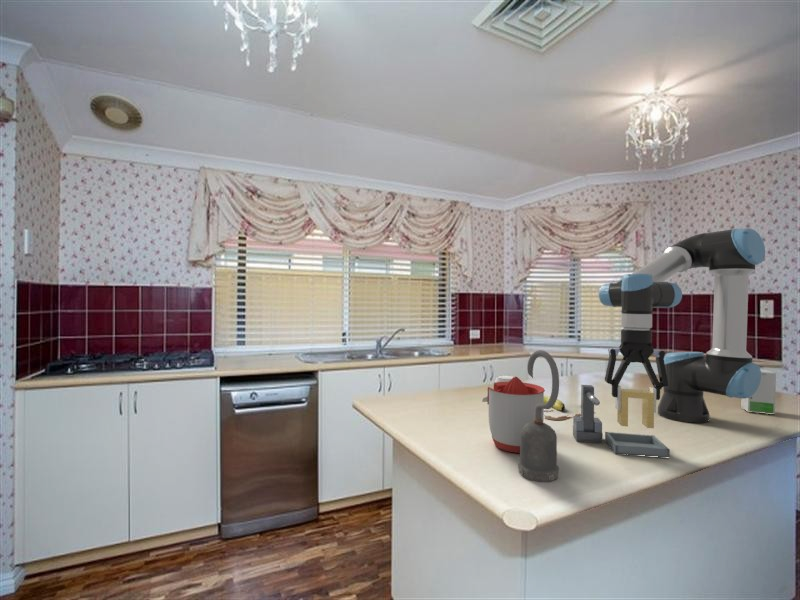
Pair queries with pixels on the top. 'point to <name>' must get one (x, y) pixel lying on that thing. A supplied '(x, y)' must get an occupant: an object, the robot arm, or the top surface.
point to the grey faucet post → (587, 418)
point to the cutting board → (557, 406)
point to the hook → (540, 434)
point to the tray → (636, 444)
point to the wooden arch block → (646, 406)
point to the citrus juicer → (512, 411)
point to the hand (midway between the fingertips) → (635, 409)
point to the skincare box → (762, 395)
